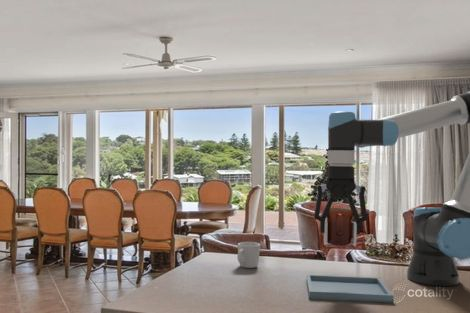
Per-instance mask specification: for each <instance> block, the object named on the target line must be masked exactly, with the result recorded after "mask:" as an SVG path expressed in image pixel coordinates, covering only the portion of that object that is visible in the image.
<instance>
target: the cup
mask: <svg viewBox="0 0 470 313" xmlns="http://www.w3.org/2000/svg"><path fill="white" fill-rule="evenodd" d="M260 252H261V243H259V242H255V241H242V242H238V243H237V256H236V257H237V262H238V264H239V266H240V267H241V268H245V269H252V268H253V269H254V268H256V267H258V265H259V261H260Z"/></svg>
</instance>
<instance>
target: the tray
mask: <svg viewBox="0 0 470 313" xmlns="http://www.w3.org/2000/svg"><path fill="white" fill-rule="evenodd" d="M306 286H307V292H308V298H309V300H323V301H325V300H326V301H327V300H328V301H345V302H362V303H363V302H364V303H365V302H367V303H387V304H395V303H394V300H395V299H394V297H395V296H394V294H393V293H392V292H391V290H390V289H389V287H387V285H386V284H385V283H384V281H383V280H382V279H381V278H380V277H373V276H372V277H371V276H370V277H369V276H351V275H350V276H349V275H331V274H330V275H326V274H324V275H323V274H306Z"/></svg>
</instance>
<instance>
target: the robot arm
mask: <svg viewBox="0 0 470 313" xmlns="http://www.w3.org/2000/svg"><path fill="white" fill-rule="evenodd" d="M328 116H329V117H328V126H327V130H328V133H327V134H328V136H327V137H328V138H327V139H328V140H327V142H328V145H327V147H328V149H327V150H328V151H327V164H328V165H329V166H328V165H327V166H328V167H327V179H326V183H325V184H321V185H320V184H317V185H316V191H317V195H316V197H317V198H316V201H315V208H314V214H313V218H314V219H315V220H317V221H319V222H320V224H319V230H320V233H321V234H322V233H323V244H324V246H327V245H328V242H327V227H328V222H327V218H326V217H327V215H328V212H329V210H330V208H332V205H333V203H334V201H335V199H338V198H339V199H340V198H342V199H346V201H347V202H348V205H349V209H351V211H353V220H354V221H352V242H351V244H352V246H353V247H357V235H360V234H361V224H362V223H363V222H366V221H368V216H367V208H366V201H365V200H366V198H365V192H366V186H363V185H357V183H356V182H355V167H354V166H353V165H355V161H356V160H355V153H356V152H355V150H356V149H355V147H358V148H363V149H364V148H365V147H376V146H378V147H381V146H382V147H389V146H395V145H396V143H397V142H398V139H400V138H404V137H408V136H412V135H417V134H419V133H423V132H424V133H426V132H428V131H432V130H436V129H439V128H444V127H447V126H451V125H455V124H458V125H460V126H465V125H468V124H470V90H468V91H467V92H464V93H461V94H457V95H454V96H452V98H451V99H450V100H447V101H443V102H439V103H435V104H431V105H426V106H424V107H420V108H417V109H413V110H409V111H404V112H401V113H398V114H397V113H395V114H393V115H389V116H385V117H382V118H378V119H359V118H357V117H356V113H355V112H354V111H333V112H331V113H330V114H329V115H328ZM326 189H327V190H328V192H329V193H330V194H329V197H328V199H327V200H326V201H327V202H326V204H325V207H324V208H323V211H322V213H321V212H320V211H321V207H322V201H323V193H324V192H325V190H326ZM355 190H356V192H357V194H358V201H359V210H360V215H361V216H360V215H359V212H358V210H357V208H356V205H355V202H354V200H353V197H352V193H353V192H354V191H355ZM320 213H321V215H320ZM412 223H413V227H412V229H413V233H412V236H413V238H412V240H413V241H412V246H413V247H412V248H413V249H412V251H413V252H412V256H411V259H410V262H409V264H408V268H407V271H406V278H407V279H408V280H410V281H411V282H413V283H414V282H415V283H417V284H418V283H419V284H422V285H423V284H424V285H428V286H433V287H435V286H437V287H453V286H457V285H459V284H460V274H459V272H458V268H457V265H456V262H455V260H454V259H459V260H467V259H470V151H469V152H468V155H467V158H466V160H465V162H464V165H463V167H462V170H461V172H460V175H459V177H458V180H457V183H456V185H455V188H454V191H453V193H452V196H451V199H450V200H449V201H446V202H444V203H442V205H441V207H416V208H415V209H414V211H413V217H412Z"/></svg>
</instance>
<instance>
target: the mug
mask: <svg viewBox="0 0 470 313" xmlns="http://www.w3.org/2000/svg"><path fill="white" fill-rule="evenodd" d="M353 220H354V216H353V211H351V208H350V207H349V208H347V207H331V208H330V210H329V212H328V215H327V217H326V221H327V222H328V227H327V244H328V245H331V246H333V247H334V246H335V247H348V246H350V245H351V244H352V226H353Z"/></svg>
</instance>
